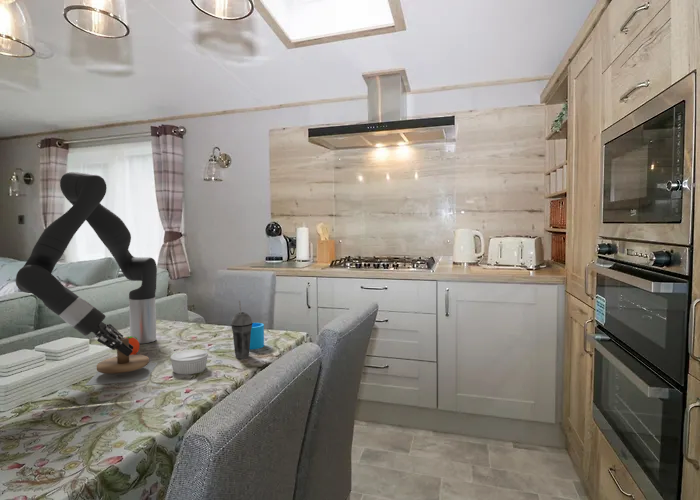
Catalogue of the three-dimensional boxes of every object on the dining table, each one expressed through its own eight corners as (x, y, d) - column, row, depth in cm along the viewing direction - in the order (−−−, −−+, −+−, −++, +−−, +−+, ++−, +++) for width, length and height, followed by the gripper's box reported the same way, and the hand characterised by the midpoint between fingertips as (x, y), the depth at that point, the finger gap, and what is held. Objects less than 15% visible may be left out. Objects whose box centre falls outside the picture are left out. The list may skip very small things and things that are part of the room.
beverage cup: (256, 354, 144) (256, 298, 143) (245, 361, 137) (244, 302, 136) (239, 352, 147) (238, 297, 146) (227, 358, 140) (226, 301, 139)
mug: (264, 348, 152) (264, 327, 151) (241, 350, 150) (241, 328, 149) (263, 340, 163) (263, 320, 163) (242, 341, 161) (242, 321, 161)
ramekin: (192, 379, 121) (191, 361, 121) (162, 374, 125) (161, 357, 125) (215, 367, 132) (215, 351, 132) (187, 363, 135) (187, 347, 135)
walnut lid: (105, 359, 129) (104, 335, 129) (153, 356, 133) (152, 332, 133) (89, 375, 116) (88, 348, 115) (143, 371, 120) (142, 344, 119)
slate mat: (103, 368, 130) (103, 366, 130) (157, 364, 134) (157, 362, 134) (84, 387, 115) (84, 385, 115) (146, 381, 119) (146, 380, 119)
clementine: (129, 352, 147) (129, 332, 146) (146, 353, 145) (146, 334, 145) (112, 359, 139) (111, 338, 139) (130, 360, 138) (129, 340, 137)
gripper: (88, 311, 114) (139, 348, 120) (96, 302, 127) (141, 336, 133) (67, 331, 112) (119, 368, 118) (76, 320, 125) (123, 354, 131)
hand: (130, 351), depth 125 cm, fingers closed on walnut lid, 3 cm apart
